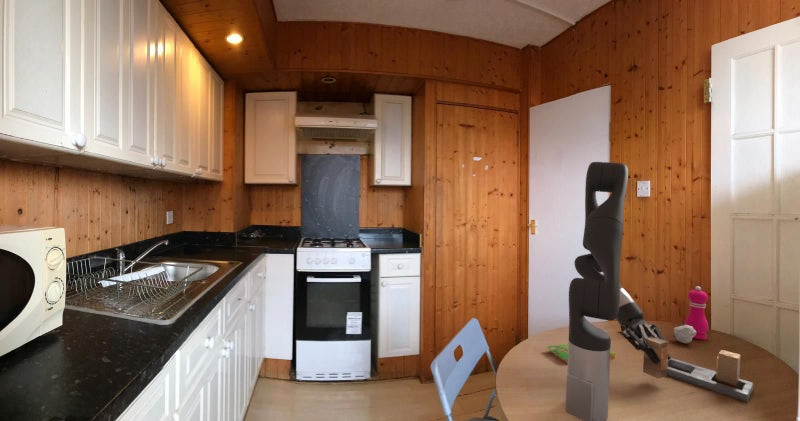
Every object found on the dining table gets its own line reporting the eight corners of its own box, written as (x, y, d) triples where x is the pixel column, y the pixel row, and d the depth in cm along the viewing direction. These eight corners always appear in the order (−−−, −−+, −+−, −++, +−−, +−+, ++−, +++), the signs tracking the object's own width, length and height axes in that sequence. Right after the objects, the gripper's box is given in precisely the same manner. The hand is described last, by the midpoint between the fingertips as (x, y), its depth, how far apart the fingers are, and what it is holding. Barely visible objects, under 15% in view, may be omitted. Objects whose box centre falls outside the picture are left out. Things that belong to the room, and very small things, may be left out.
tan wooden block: (659, 379, 97) (660, 344, 97) (643, 372, 101) (644, 338, 101) (667, 376, 99) (669, 342, 99) (651, 369, 103) (653, 336, 103)
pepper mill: (699, 341, 132) (701, 289, 131) (679, 333, 139) (681, 284, 138) (712, 339, 134) (715, 288, 133) (692, 332, 141) (695, 283, 140)
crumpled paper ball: (690, 348, 126) (691, 329, 125) (669, 340, 132) (669, 322, 132) (699, 345, 128) (700, 326, 128) (678, 338, 134) (679, 320, 134)
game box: (615, 361, 116) (564, 365, 111) (592, 349, 126) (544, 352, 120) (615, 352, 116) (564, 356, 111) (592, 341, 126) (544, 343, 120)
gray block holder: (752, 389, 98) (754, 355, 98) (746, 402, 92) (748, 365, 92) (666, 362, 114) (668, 332, 113) (656, 371, 108) (658, 339, 107)
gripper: (616, 303, 104) (657, 360, 93) (646, 298, 109) (688, 352, 99) (599, 314, 109) (636, 370, 98) (628, 310, 114) (667, 362, 104)
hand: (662, 361), depth 98 cm, fingers closed on tan wooden block, 4 cm apart
